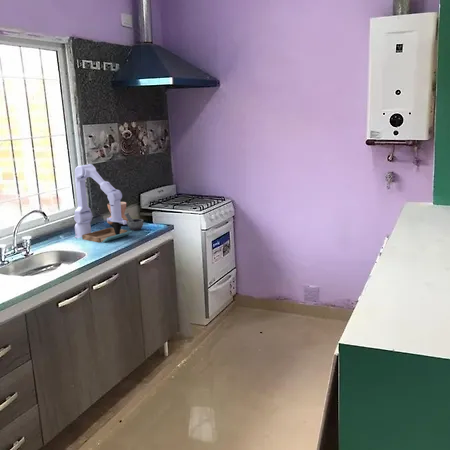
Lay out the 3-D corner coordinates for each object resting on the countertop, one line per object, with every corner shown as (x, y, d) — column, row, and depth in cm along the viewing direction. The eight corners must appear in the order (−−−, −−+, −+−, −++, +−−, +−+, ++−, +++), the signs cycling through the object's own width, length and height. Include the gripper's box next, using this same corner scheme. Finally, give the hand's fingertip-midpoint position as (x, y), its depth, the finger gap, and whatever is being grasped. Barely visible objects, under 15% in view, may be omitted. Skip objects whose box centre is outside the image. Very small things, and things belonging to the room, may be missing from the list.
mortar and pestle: (145, 229, 330) (144, 210, 328) (142, 233, 321) (140, 213, 318) (127, 230, 331) (126, 211, 328) (124, 233, 322) (122, 214, 319)
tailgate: (101, 242, 298) (107, 237, 294) (125, 235, 312) (131, 230, 308) (102, 243, 298) (107, 238, 294) (126, 236, 312) (131, 231, 308)
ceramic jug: (110, 222, 356) (108, 201, 352) (132, 221, 355) (130, 200, 352) (104, 228, 338) (101, 206, 335) (126, 227, 337) (124, 205, 334)
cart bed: (82, 241, 307) (81, 235, 306) (110, 233, 323) (110, 227, 322) (99, 245, 297) (99, 238, 297) (127, 236, 314) (127, 230, 313)
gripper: (130, 211, 298) (131, 235, 301) (112, 209, 307) (114, 231, 310) (120, 214, 292) (122, 238, 296) (103, 211, 301) (105, 234, 304)
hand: (117, 235), depth 302 cm, fingers closed, pressing on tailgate
